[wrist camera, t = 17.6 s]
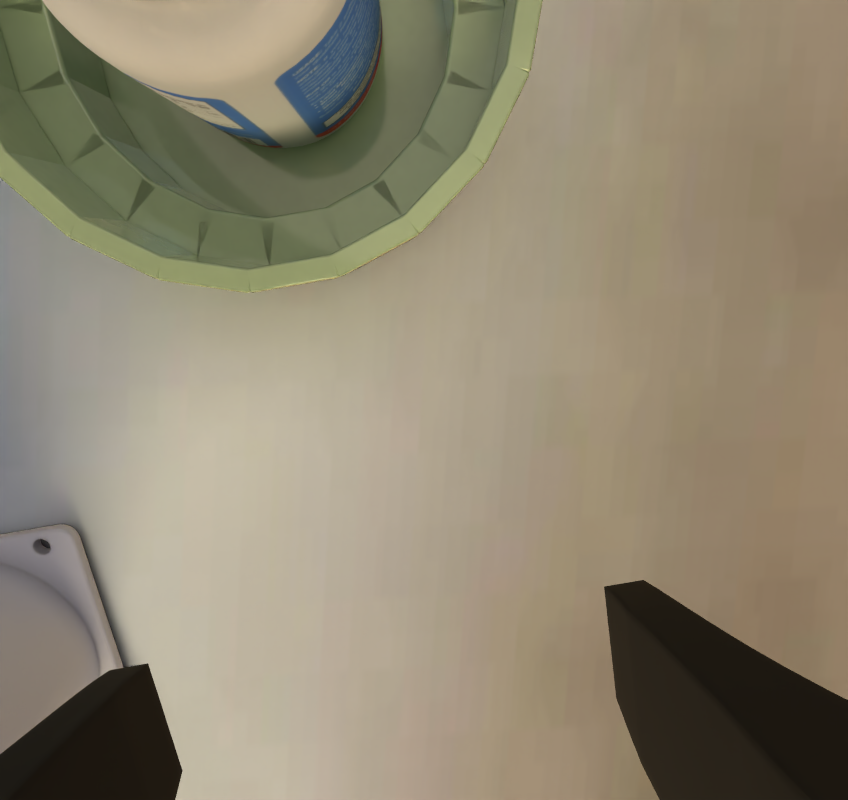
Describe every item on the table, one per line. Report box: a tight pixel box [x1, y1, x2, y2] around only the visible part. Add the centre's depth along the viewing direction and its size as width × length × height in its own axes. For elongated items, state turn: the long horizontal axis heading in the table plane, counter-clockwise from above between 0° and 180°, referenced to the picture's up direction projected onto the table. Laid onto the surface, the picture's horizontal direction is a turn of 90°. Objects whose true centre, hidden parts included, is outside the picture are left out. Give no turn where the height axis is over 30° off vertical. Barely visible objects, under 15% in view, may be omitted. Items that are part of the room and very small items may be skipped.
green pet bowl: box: [0, 0, 543, 293], centre depth 14 cm, size 12×12×5 cm
